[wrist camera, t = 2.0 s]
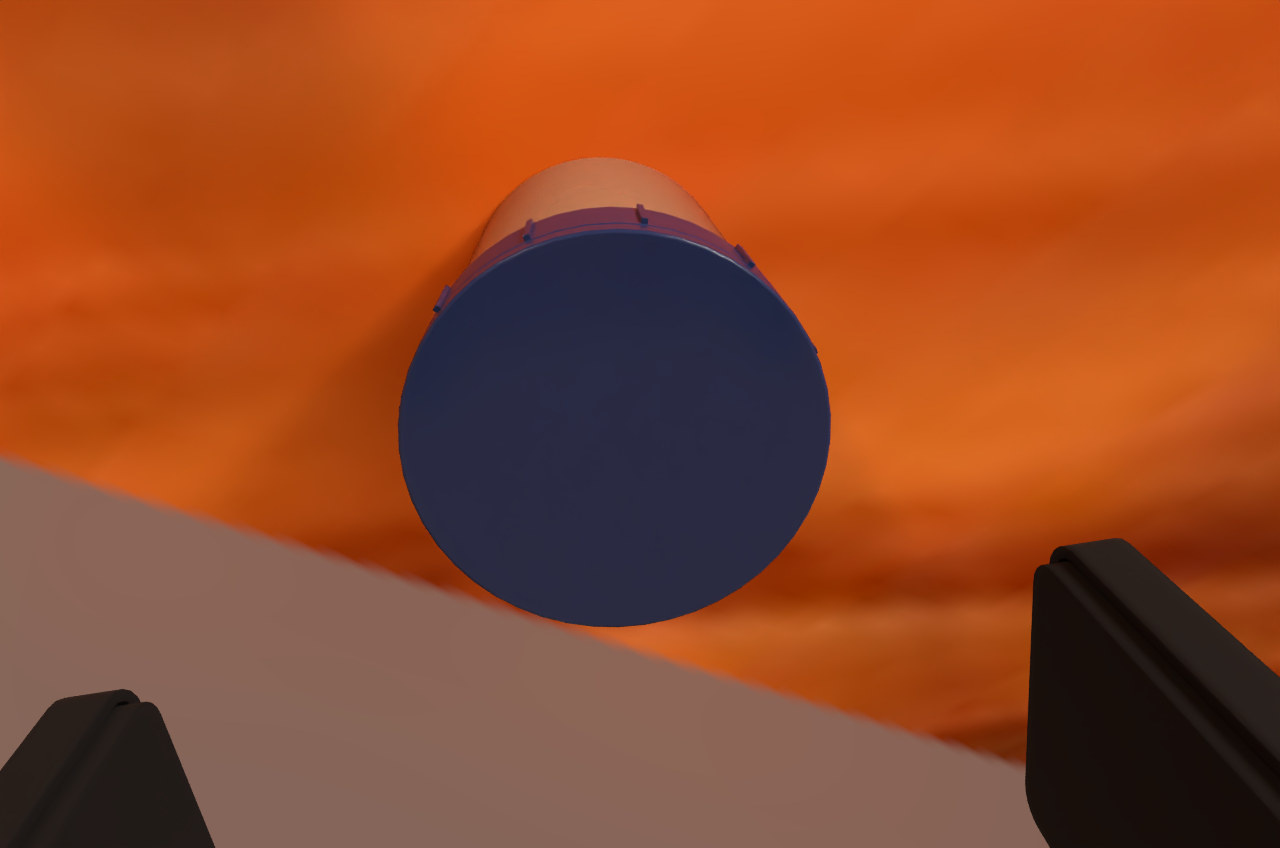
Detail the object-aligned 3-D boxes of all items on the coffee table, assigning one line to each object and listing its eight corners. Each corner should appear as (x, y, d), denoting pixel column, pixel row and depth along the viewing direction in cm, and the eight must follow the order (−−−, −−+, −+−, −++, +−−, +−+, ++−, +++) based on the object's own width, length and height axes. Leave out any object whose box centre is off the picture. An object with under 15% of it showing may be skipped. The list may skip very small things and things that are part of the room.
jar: (714, 139, 23) (800, 205, 14) (737, 387, 26) (821, 572, 17) (449, 177, 23) (372, 265, 14) (498, 421, 26) (459, 625, 17)
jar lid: (791, 178, 16) (820, 197, 14) (814, 540, 18) (840, 597, 16) (375, 237, 16) (349, 264, 14) (460, 592, 18) (447, 654, 16)
